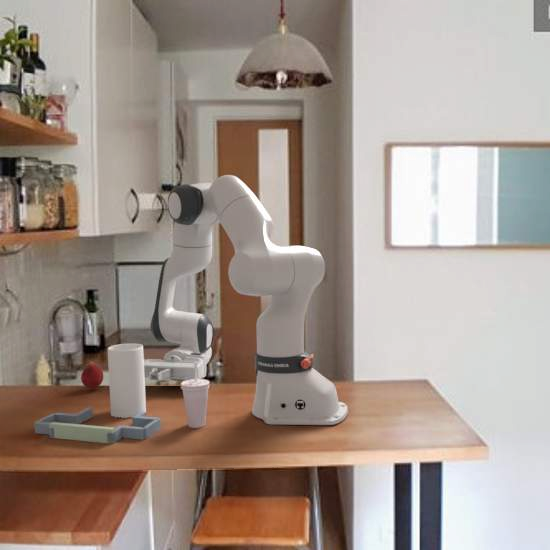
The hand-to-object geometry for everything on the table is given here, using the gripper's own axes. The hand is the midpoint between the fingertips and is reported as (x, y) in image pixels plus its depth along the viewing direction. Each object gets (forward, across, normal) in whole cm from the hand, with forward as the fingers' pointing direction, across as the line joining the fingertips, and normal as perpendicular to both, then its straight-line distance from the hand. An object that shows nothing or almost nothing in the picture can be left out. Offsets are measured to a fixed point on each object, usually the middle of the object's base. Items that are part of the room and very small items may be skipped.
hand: (154, 376), depth 148 cm
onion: (-2, -20, +6) cm, 21 cm away
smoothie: (+17, +20, +6) cm, 27 cm away
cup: (+13, 0, +6) cm, 14 cm away
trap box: (+24, 0, +5) cm, 25 cm away
